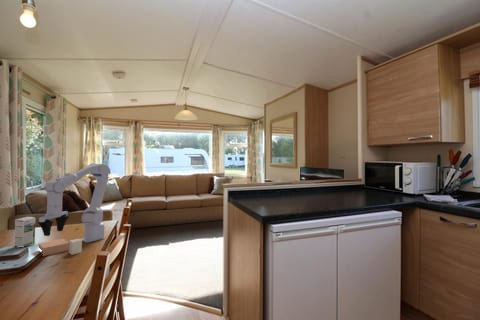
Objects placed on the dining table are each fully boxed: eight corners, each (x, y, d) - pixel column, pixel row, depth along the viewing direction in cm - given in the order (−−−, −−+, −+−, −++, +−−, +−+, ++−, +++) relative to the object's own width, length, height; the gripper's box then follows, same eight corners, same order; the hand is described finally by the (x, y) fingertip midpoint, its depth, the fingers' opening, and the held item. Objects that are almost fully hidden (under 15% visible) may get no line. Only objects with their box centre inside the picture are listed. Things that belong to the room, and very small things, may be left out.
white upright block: (78, 250, 113) (79, 238, 113) (81, 252, 111) (82, 240, 111) (69, 252, 110) (69, 240, 110) (71, 254, 107) (72, 242, 108)
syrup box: (22, 248, 114) (23, 219, 115) (13, 247, 115) (15, 218, 116) (34, 244, 120) (36, 217, 120) (26, 243, 121) (27, 216, 121)
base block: (62, 246, 119) (63, 238, 119) (69, 250, 113) (69, 242, 113) (38, 251, 111) (38, 243, 111) (43, 256, 105) (43, 248, 105)
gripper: (58, 202, 117) (57, 228, 116) (32, 207, 102) (31, 237, 102) (72, 202, 116) (71, 229, 116) (48, 208, 102) (46, 238, 102)
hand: (53, 233), depth 109 cm, fingers open, 7 cm apart
